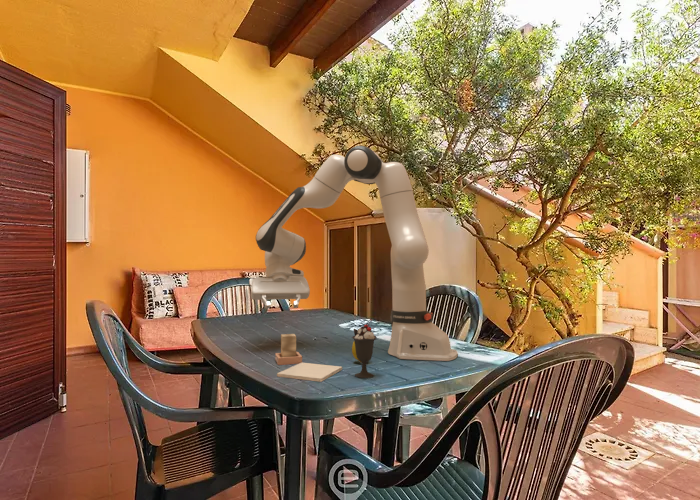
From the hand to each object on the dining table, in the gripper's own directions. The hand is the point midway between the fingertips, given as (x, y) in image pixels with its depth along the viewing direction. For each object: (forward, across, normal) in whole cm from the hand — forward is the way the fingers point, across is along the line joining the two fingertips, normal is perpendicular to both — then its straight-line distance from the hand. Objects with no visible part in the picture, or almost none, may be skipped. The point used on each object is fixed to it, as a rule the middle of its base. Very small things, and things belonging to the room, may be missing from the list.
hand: (282, 307), depth 138 cm
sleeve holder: (+20, 0, +1) cm, 20 cm away
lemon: (+26, +21, -4) cm, 34 cm away
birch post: (+20, 0, +1) cm, 20 cm away
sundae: (+36, +17, -14) cm, 42 cm away
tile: (+31, +4, -9) cm, 32 cm away
